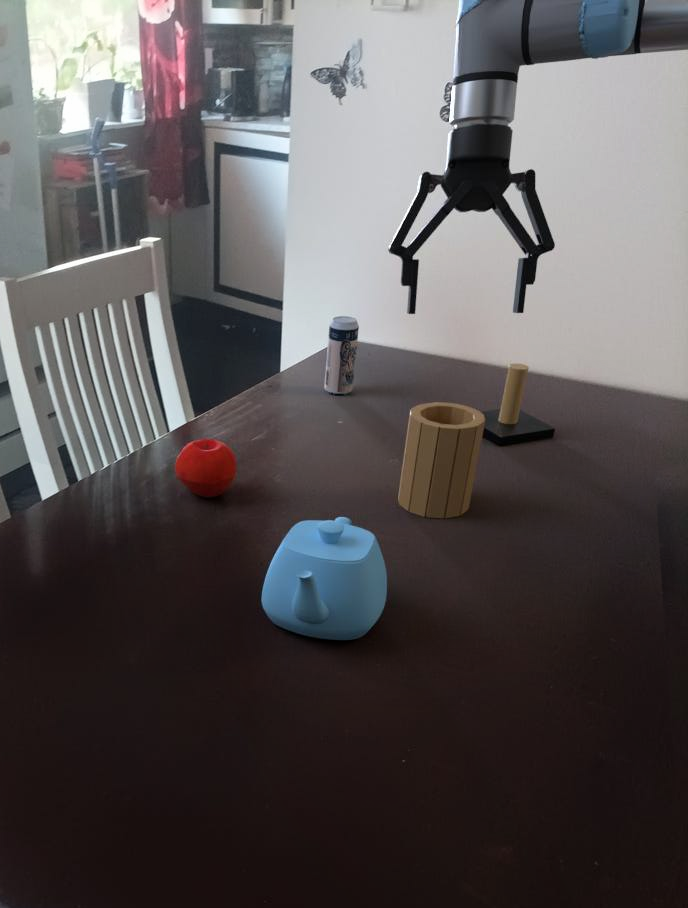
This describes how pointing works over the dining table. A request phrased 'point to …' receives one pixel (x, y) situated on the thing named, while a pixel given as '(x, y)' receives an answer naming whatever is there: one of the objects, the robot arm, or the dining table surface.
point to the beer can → (341, 355)
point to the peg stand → (514, 414)
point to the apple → (206, 467)
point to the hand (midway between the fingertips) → (464, 313)
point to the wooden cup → (440, 459)
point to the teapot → (326, 580)
